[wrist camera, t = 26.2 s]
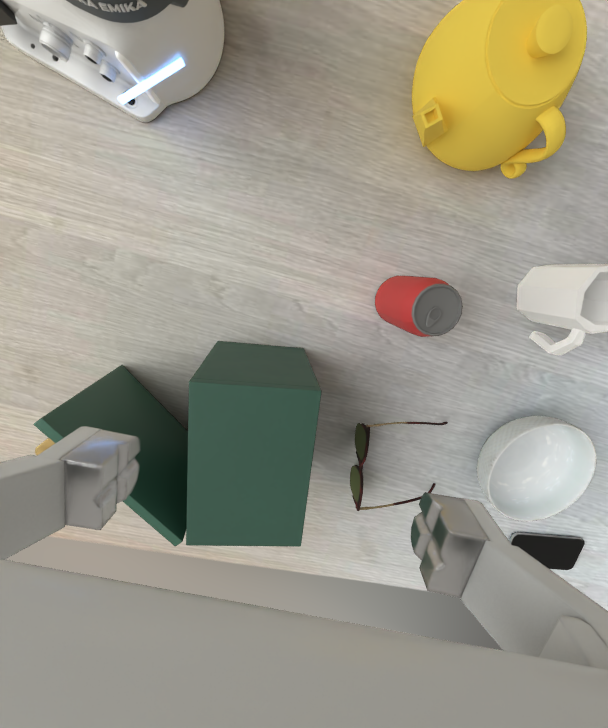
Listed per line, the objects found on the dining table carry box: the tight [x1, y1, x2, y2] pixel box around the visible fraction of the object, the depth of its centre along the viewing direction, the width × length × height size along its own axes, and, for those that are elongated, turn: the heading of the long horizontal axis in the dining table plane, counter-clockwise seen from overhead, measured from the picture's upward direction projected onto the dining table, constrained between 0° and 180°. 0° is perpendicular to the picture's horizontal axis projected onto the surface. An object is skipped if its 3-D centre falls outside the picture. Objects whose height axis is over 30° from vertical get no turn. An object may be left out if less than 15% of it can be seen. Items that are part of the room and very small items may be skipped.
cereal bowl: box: [477, 416, 596, 521], centre depth 52 cm, size 17×17×7 cm
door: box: [34, 365, 188, 546], centre depth 40 cm, size 6×18×17 cm, turn 36°
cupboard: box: [186, 341, 321, 546], centre depth 41 cm, size 12×18×17 cm, turn 174°
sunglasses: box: [350, 422, 448, 511], centre depth 52 cm, size 14×15×5 cm
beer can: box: [375, 276, 463, 337], centre depth 41 cm, size 7×7×12 cm
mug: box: [516, 264, 608, 356], centre depth 44 cm, size 12×9×10 cm
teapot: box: [412, 0, 587, 179], centre depth 35 cm, size 20×19×13 cm
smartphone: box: [509, 532, 585, 570], centre depth 62 cm, size 7×1×15 cm
